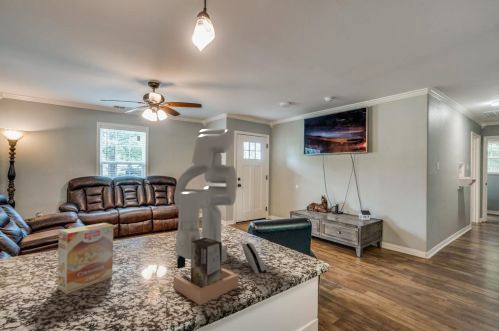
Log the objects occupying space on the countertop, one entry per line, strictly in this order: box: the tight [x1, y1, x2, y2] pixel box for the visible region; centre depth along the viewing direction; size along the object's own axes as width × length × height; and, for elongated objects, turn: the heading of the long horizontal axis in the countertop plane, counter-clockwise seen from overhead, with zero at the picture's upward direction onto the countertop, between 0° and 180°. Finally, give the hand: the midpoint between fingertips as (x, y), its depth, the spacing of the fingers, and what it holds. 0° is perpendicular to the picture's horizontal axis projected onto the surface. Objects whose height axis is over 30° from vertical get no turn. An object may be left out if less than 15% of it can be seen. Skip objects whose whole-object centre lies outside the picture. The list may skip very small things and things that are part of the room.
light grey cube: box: [222, 245, 228, 263], centre depth 108 cm, size 6×6×6 cm
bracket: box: [172, 267, 240, 306], centre depth 84 cm, size 15×16×4 cm
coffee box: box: [190, 237, 223, 288], centre depth 82 cm, size 9×6×16 cm
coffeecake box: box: [57, 222, 114, 295], centre depth 86 cm, size 15×7×20 cm, turn 148°
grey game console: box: [242, 242, 269, 275], centre depth 103 cm, size 17×5×10 cm, turn 14°
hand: (188, 271), depth 91 cm, fingers open, 9 cm apart
